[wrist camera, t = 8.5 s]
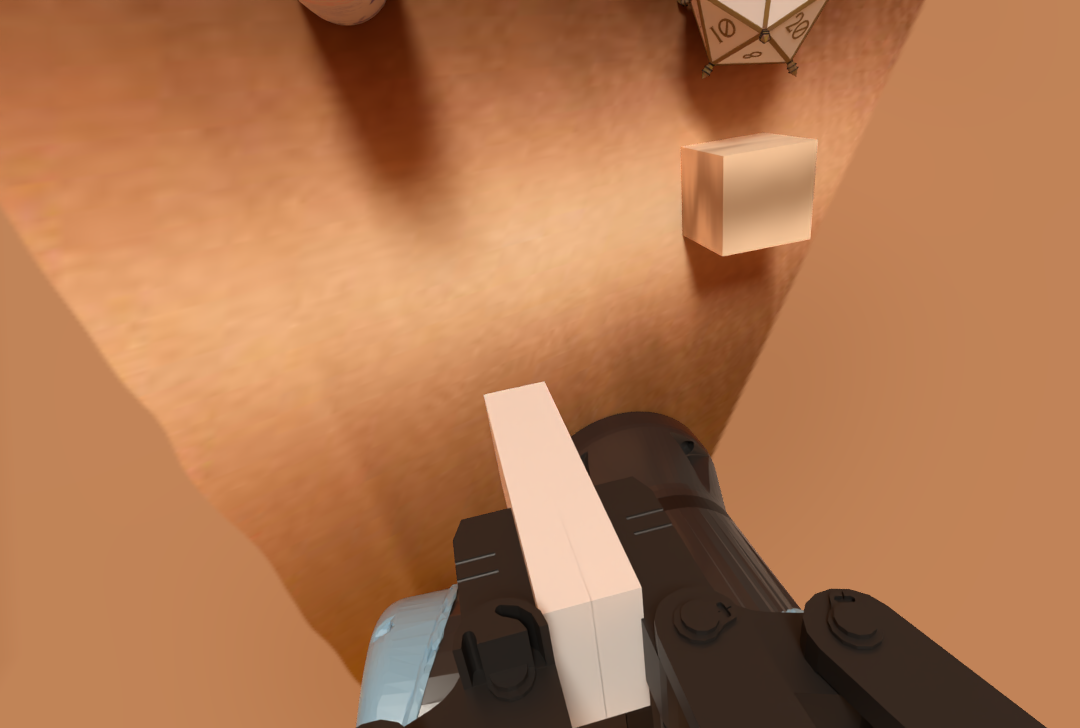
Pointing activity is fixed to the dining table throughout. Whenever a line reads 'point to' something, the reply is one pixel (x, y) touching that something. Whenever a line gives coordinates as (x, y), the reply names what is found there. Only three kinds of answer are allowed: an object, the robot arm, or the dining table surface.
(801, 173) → the beech block
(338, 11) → the energy drink
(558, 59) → the dining table surface
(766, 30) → the game die
